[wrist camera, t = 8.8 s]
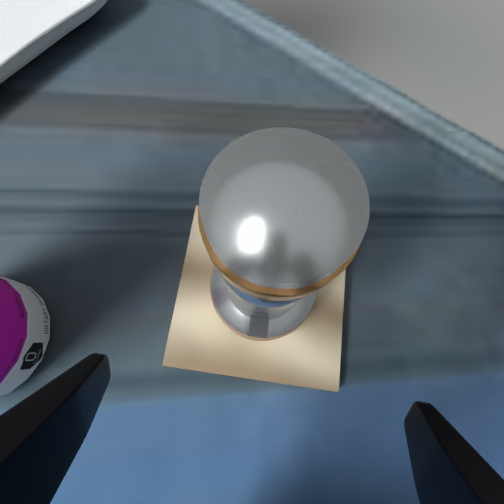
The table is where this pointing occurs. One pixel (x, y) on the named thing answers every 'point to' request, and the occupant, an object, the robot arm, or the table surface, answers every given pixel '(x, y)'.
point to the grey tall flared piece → (279, 225)
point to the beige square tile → (249, 348)
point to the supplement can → (20, 333)
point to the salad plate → (37, 28)
